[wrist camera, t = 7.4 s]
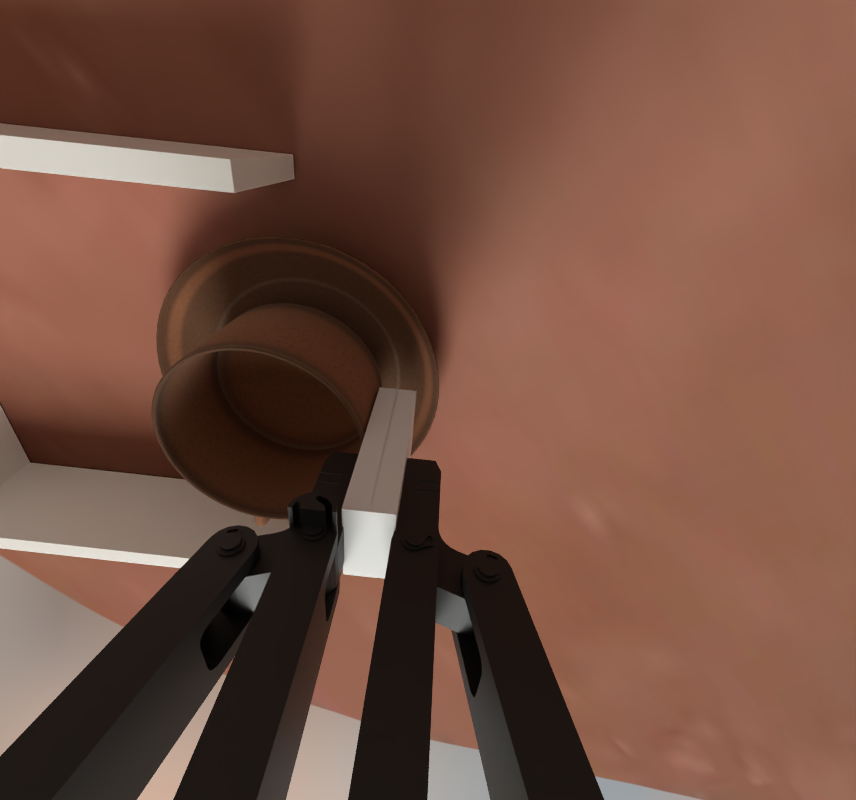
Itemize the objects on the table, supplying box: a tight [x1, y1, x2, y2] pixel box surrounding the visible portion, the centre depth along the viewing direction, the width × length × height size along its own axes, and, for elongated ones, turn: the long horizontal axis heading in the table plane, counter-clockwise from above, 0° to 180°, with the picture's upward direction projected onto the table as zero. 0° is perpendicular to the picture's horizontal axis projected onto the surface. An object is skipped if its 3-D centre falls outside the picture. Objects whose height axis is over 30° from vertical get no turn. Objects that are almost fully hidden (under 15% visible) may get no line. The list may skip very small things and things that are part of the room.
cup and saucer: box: [152, 237, 439, 526], centre depth 17 cm, size 12×12×6 cm
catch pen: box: [0, 123, 295, 568], centre depth 18 cm, size 18×17×5 cm
